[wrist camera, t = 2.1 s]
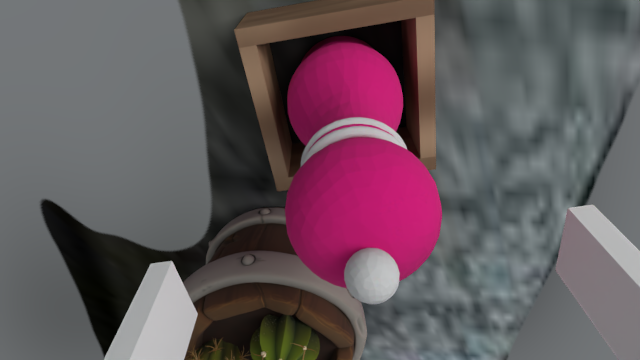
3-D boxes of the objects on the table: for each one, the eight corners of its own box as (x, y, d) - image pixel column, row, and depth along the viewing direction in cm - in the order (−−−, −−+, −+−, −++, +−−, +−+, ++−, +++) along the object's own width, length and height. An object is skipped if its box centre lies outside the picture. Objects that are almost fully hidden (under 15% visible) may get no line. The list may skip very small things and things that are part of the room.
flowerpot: (360, 178, 34) (405, 436, 17) (350, 303, 42) (374, 558, 25) (185, 178, 33) (54, 437, 17) (211, 302, 42) (140, 560, 25)
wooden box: (247, 12, 27) (234, 30, 22) (414, -18, 26) (434, -6, 21) (282, 156, 32) (277, 191, 28) (419, 136, 32) (435, 169, 27)
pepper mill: (347, 3, 26) (402, 148, 9) (411, 83, 29) (539, 301, 12) (269, 76, 29) (205, 292, 12) (335, 142, 32) (357, 390, 15)
